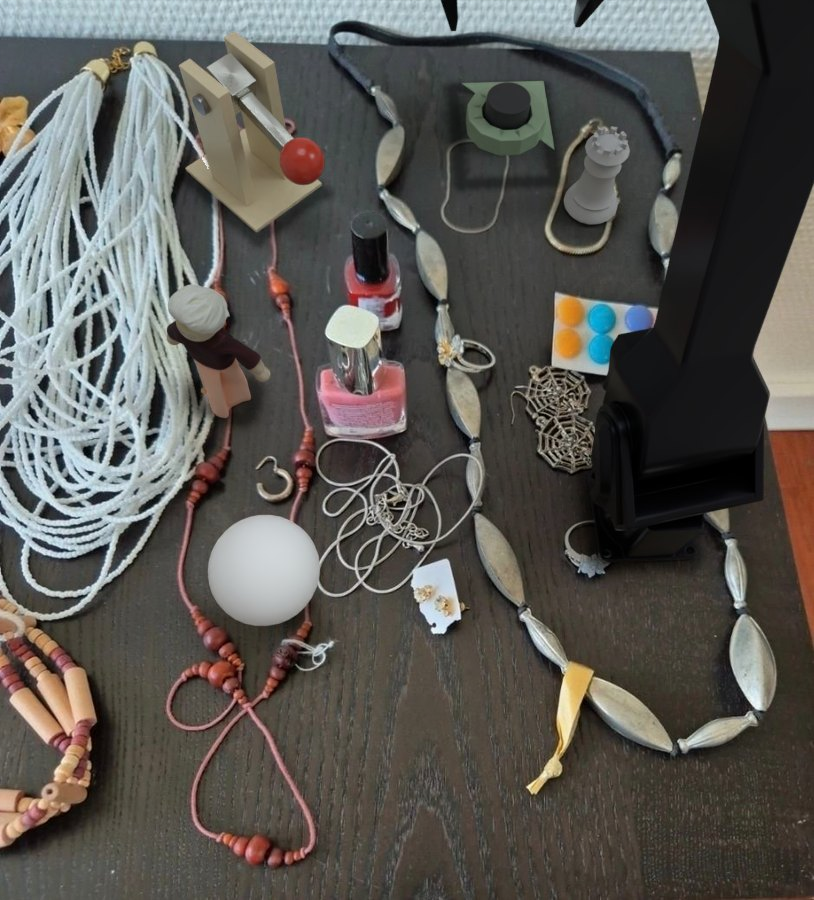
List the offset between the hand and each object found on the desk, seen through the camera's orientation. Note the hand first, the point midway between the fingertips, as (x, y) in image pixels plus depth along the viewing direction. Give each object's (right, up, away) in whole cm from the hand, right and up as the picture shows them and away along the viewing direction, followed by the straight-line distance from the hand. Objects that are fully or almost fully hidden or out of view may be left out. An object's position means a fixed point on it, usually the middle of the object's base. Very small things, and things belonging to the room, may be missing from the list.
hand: (514, 25), depth 58 cm
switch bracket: (-21, -9, +7) cm, 24 cm away
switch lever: (-18, -9, -1) cm, 20 cm away
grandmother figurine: (-21, -28, -1) cm, 35 cm away
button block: (0, -4, +10) cm, 11 cm away
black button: (0, -3, +8) cm, 8 cm away
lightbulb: (-16, -41, -7) cm, 45 cm away
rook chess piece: (+7, -12, +6) cm, 15 cm away
